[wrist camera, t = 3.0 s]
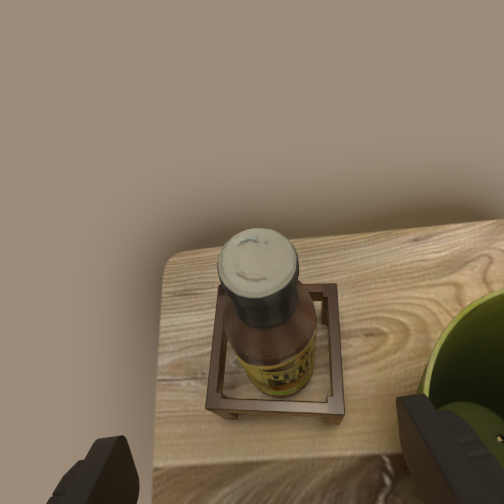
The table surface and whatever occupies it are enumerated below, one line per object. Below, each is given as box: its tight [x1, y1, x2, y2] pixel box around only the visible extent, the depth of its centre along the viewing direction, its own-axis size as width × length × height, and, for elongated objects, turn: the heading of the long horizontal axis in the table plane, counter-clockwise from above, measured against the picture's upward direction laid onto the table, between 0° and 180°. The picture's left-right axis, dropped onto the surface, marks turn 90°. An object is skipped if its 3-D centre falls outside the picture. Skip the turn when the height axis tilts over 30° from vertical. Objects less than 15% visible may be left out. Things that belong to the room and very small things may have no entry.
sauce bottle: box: [217, 228, 317, 397], centre depth 27 cm, size 6×6×20 cm
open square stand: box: [205, 283, 345, 425], centre depth 32 cm, size 10×10×7 cm
